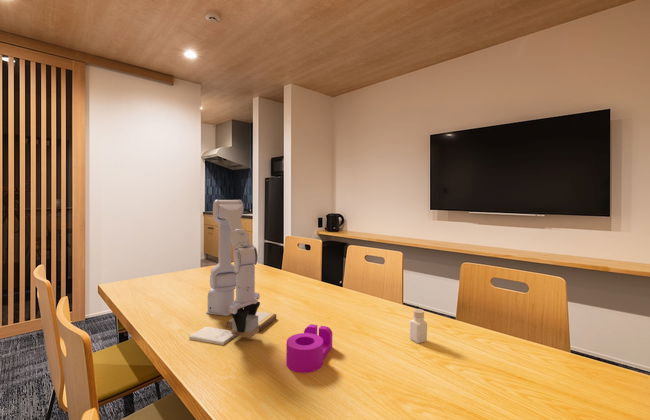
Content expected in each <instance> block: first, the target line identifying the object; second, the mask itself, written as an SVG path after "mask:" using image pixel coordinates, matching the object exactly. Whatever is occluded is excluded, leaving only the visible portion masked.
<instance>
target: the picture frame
mask: <svg viewBox="0 0 650 420" xmlns="http://www.w3.org/2000/svg"><path fill="white" fill-rule="evenodd" d="M256 316H258V327H259V332H258V333H261V332H262V331H263V330H265V329H266V328H267V327H268V326H269V325H271V324H272V323H273V322H274V321H276V319H277V314H276V313H270V312H264V311H258V310H257V312H256ZM232 319H233V317H232V318H230V319H229V320H227V321H226V324H225V326H226V328H231V329H232Z"/></svg>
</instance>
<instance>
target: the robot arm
mask: <svg viewBox="0 0 650 420" xmlns="http://www.w3.org/2000/svg"><path fill="white" fill-rule="evenodd" d="M243 213H244V203H243V201H242V200H241V199H215V200H214V201H213V203H212V220H213V221H215V222H217V224H218V225H217V226H218V245H217V246H218V263H217V264H216V265H215V266H213V267H212V268H211V270H210V276H209V285H210V289H209V291H208V293H207V311H206V314H209V315H217V316H223V317H224V316H225V317H229V315H231V317H232V318H233V319H234V321H235V324H236V328H237V331H238V332H244V331H245V325H246V318H247V315H248V314H249V315H256V312H257V311H258V309H259V308H260V306H261V303H260V301H259V299H260V292H255V291H256V290H255V289H256V285H255V284H256V282H255V279H256V278H255V277H256V274H255V273H256V272H255V271H256V267H255V265H257V264H258V261H259V257H258V256H259V255H258V254H259V253H258V251H257V247H256V246H255V245H254V244H253V243H251V240H250V237H249V234H248V231H247V230H246V229H243V223H242V219H241V218H242V216H243ZM232 249H233V254H232ZM232 255H233V256H232ZM232 257H233V259H232ZM232 260H233V263H234V264H232Z"/></svg>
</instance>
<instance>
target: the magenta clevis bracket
mask: <svg viewBox="0 0 650 420" xmlns="http://www.w3.org/2000/svg"><path fill="white" fill-rule="evenodd" d="M332 349H333V331H332V329H331V328H330V327H329V326H327V325H326V326H324V325H320V327H318V324H313V323H312V324H309V325H307V326H306V327H305V328H304V330H303V332H302V333H296V334H293V335H291V336H289V337H287V339H286V350H285V351H286V361H285V362H286V368H288V369H289V370H290V371H292V372H295V373H299V374H300V373H301V374H308V373H313V372H315V371H319V370H320V369H321V368H322V367H323V364H324V360H325V358H326V357H327V355H328V354H329V353H330V351H331V350H332Z"/></svg>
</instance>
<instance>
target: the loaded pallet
mask: <svg viewBox="0 0 650 420" xmlns="http://www.w3.org/2000/svg"><path fill="white" fill-rule="evenodd" d="M231 319H232V318H231ZM231 331H232V334H233V335H236V336H239V337H248V338H253V337H254V336H256V334H258V333H260V332H259V327H258V316H256V315H249V314H248V315H247V318H246V325H245V331H244V332H238V331H237V328H236V324H235V321H234V319H232V328H231Z"/></svg>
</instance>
